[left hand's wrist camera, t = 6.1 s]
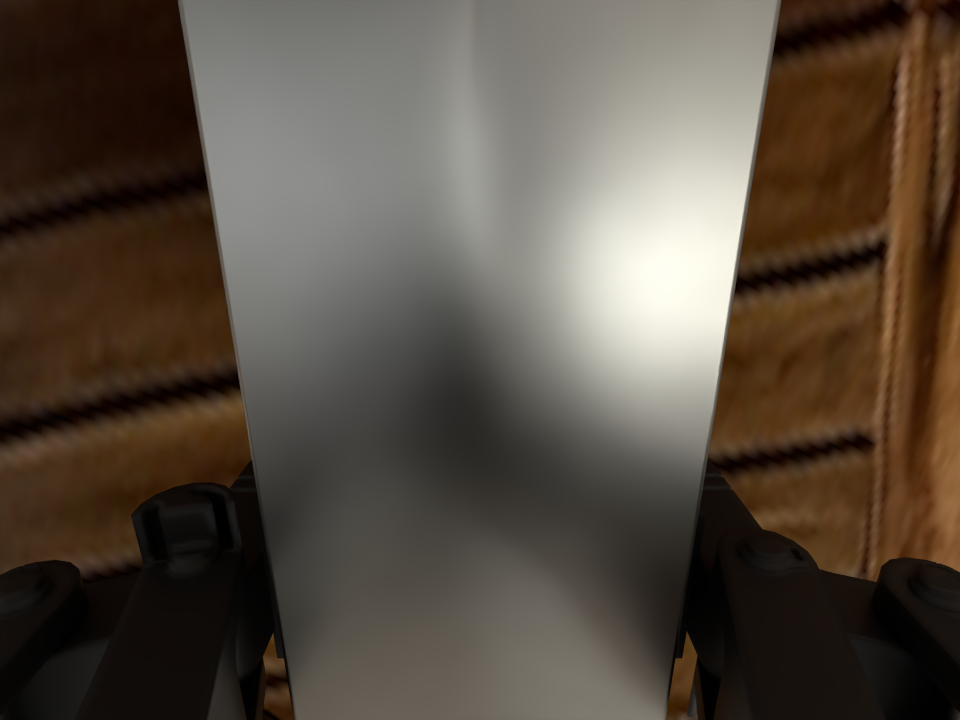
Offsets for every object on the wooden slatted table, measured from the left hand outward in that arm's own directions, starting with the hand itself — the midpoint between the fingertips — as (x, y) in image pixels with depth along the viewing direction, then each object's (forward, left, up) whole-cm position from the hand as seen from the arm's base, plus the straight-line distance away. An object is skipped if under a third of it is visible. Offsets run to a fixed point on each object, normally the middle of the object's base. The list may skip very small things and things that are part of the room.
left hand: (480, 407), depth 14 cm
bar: (+2, +7, -1) cm, 8 cm away
